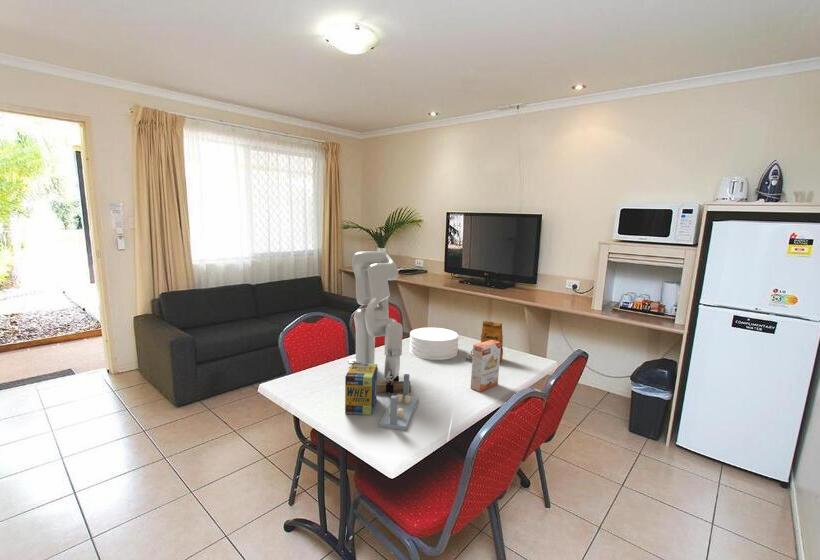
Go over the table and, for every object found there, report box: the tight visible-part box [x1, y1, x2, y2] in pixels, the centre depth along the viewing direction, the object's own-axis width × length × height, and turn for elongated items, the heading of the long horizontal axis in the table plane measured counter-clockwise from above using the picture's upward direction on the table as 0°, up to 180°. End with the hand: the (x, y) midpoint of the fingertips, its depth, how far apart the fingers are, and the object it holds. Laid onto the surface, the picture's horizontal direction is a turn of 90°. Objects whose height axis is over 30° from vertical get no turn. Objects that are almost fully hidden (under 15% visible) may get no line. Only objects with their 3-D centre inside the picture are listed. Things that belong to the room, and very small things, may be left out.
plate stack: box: [409, 327, 459, 361], centre depth 224 cm, size 28×28×12 cm
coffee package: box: [480, 320, 504, 362], centre depth 213 cm, size 10×12×22 cm
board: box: [377, 380, 412, 394], centre depth 170 cm, size 4×16×4 cm, turn 95°
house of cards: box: [464, 350, 473, 363], centre depth 211 cm, size 9×9×8 cm
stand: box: [378, 373, 419, 431], centre depth 150 cm, size 10×24×12 cm, turn 168°
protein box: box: [344, 363, 378, 416], centre depth 155 cm, size 10×15×16 cm
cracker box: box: [470, 340, 501, 393], centre depth 177 cm, size 14×6×21 cm, turn 133°
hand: (392, 388), depth 170 cm, fingers open, 9 cm apart
